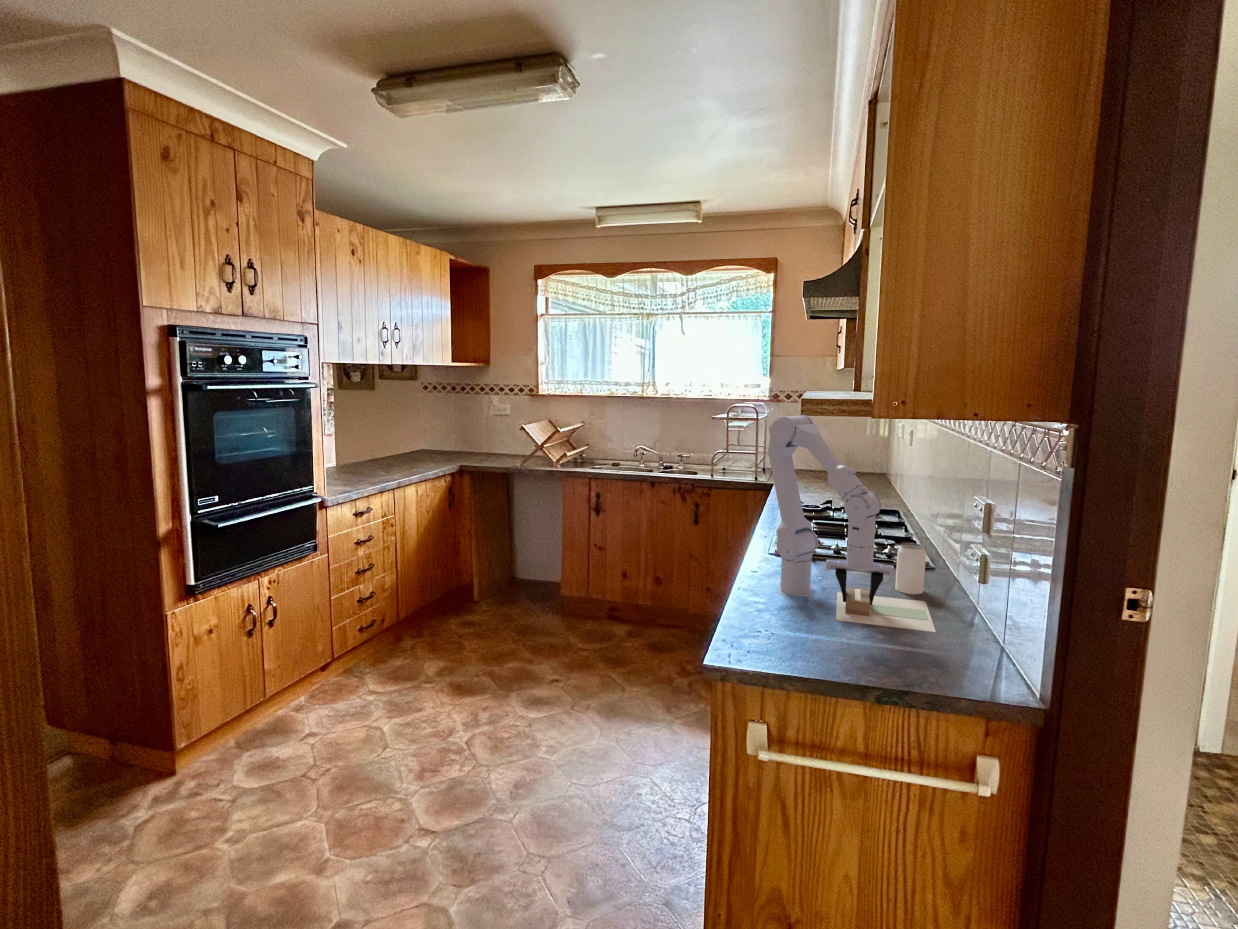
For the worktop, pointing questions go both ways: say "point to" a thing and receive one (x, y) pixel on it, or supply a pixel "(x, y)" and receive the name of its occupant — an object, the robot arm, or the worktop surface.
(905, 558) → the can
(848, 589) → the tissue box
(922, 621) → the mat
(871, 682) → the worktop surface
